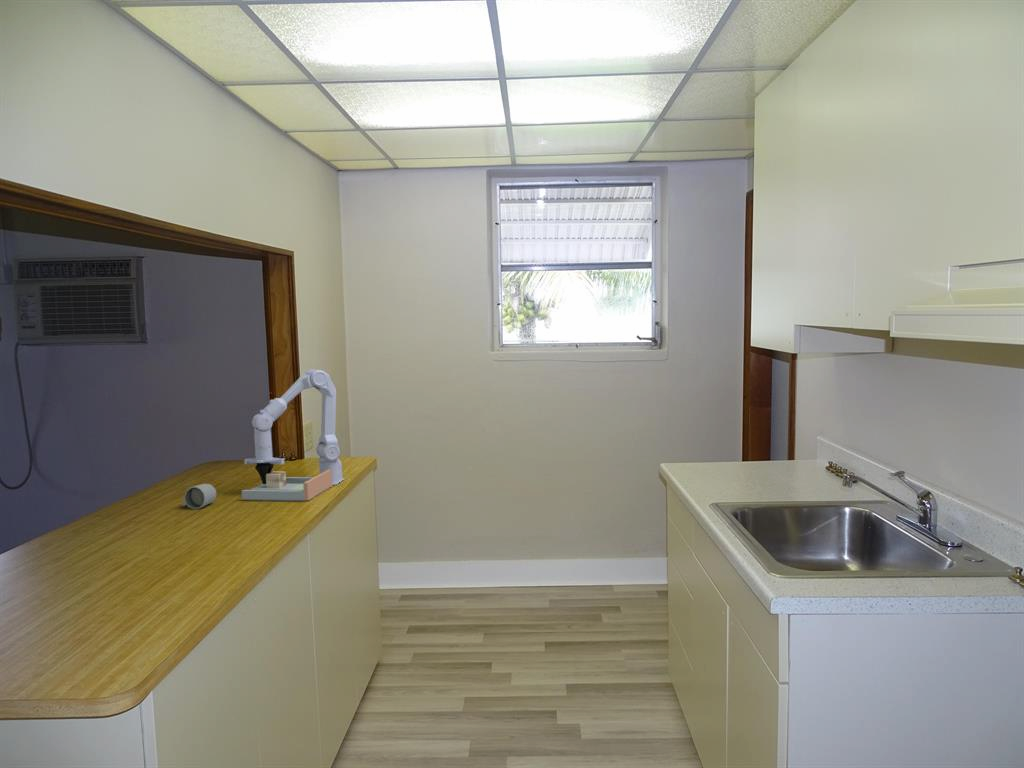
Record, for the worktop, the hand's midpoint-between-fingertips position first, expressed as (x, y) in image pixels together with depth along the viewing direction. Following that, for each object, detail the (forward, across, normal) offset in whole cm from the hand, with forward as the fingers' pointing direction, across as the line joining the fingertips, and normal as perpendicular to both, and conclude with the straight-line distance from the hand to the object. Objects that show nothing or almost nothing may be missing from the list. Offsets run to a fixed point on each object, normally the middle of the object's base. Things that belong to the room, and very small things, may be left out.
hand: (265, 483), depth 248 cm
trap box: (+3, +9, 0) cm, 9 cm away
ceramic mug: (+4, -15, -18) cm, 24 cm away
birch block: (+1, +4, 0) cm, 4 cm away
